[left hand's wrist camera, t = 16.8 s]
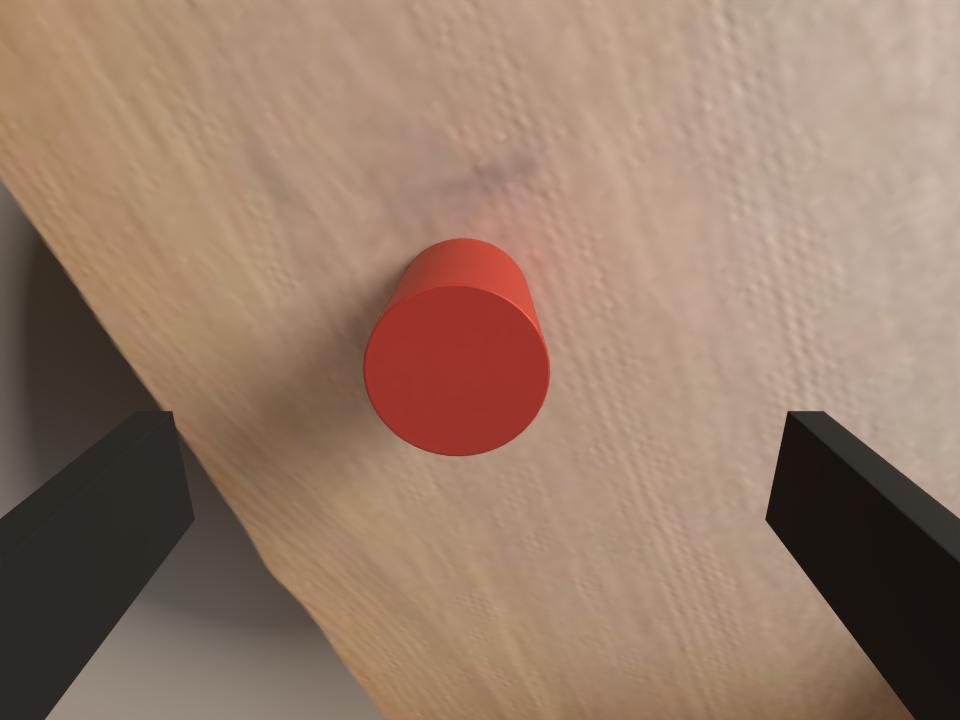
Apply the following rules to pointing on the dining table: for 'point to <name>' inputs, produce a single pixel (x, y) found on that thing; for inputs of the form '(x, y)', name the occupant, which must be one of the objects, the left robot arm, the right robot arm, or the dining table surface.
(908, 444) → the dining table surface
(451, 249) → the canister
